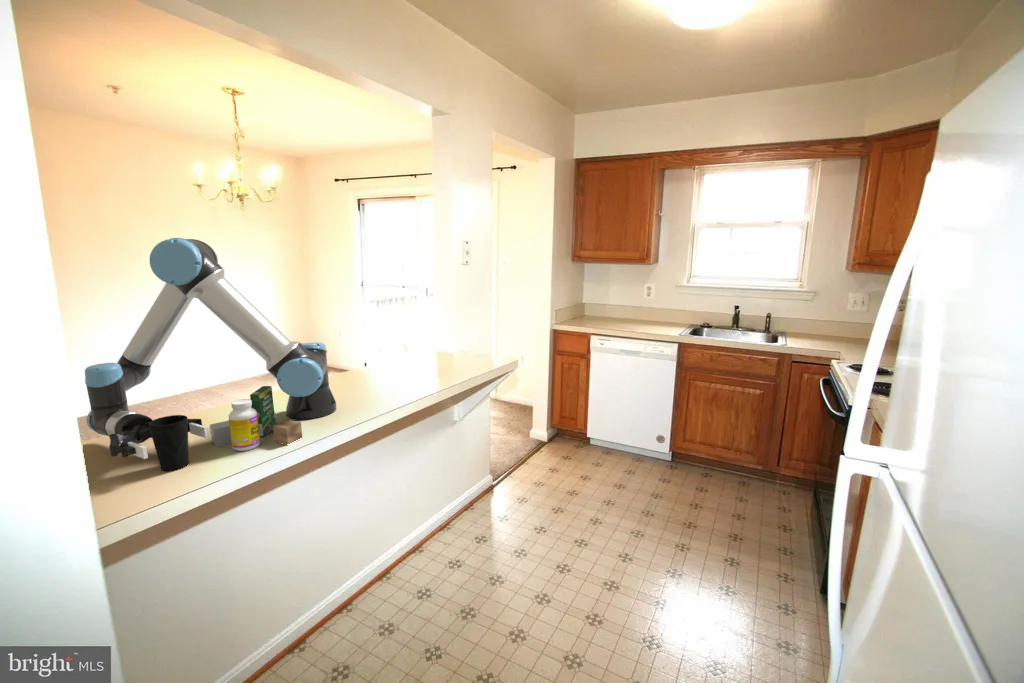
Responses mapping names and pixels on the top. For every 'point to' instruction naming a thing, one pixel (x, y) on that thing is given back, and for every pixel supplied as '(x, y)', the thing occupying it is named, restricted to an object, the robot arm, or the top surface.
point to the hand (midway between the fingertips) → (177, 442)
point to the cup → (171, 441)
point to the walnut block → (287, 432)
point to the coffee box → (264, 409)
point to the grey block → (220, 433)
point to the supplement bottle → (244, 426)
